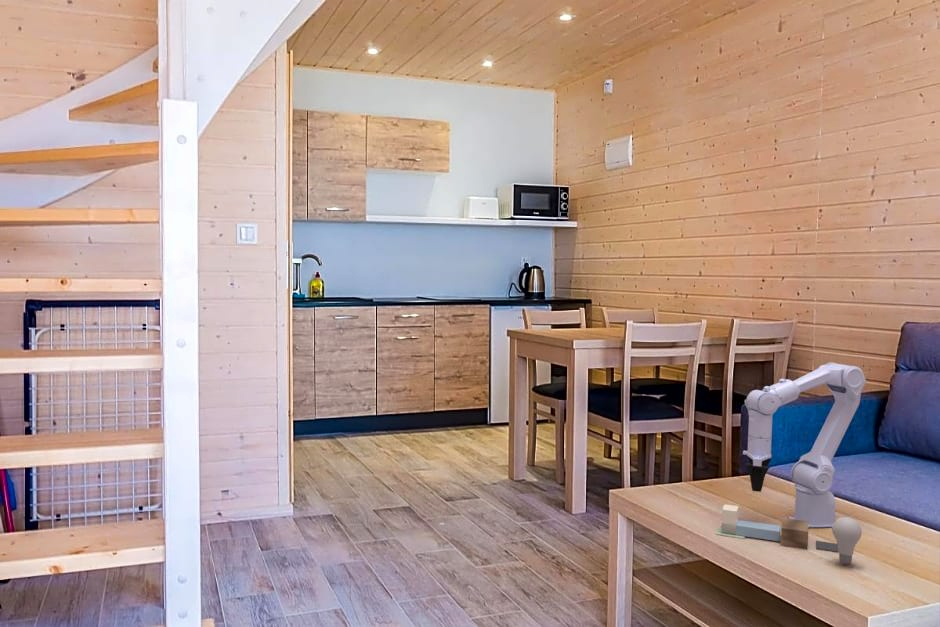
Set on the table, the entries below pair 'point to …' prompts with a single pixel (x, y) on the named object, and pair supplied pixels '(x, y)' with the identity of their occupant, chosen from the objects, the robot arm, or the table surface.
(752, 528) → the block
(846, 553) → the lightbulb
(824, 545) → the pad
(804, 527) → the tunnel
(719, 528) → the mat
